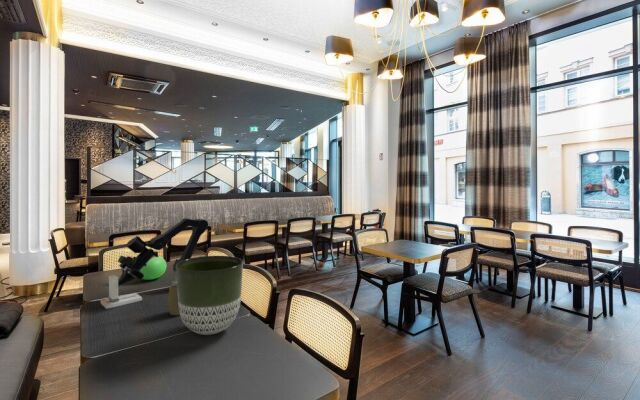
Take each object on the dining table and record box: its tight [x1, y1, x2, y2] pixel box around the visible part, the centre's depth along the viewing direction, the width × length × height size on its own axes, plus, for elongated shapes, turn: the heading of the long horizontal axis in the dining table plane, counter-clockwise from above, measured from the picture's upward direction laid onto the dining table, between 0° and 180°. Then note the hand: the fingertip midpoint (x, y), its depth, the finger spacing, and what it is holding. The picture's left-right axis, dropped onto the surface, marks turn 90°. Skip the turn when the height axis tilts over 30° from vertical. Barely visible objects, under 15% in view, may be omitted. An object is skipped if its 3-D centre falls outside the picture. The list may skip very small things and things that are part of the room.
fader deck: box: [100, 292, 143, 310], centre depth 154 cm, size 15×9×2 cm, turn 138°
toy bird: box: [140, 255, 168, 281], centre depth 191 cm, size 18×17×15 cm
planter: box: [175, 255, 244, 336], centre depth 125 cm, size 24×24×27 cm
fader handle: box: [107, 274, 119, 302], centre depth 151 cm, size 3×6×11 cm, turn 47°
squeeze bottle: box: [167, 274, 180, 316], centre depth 142 cm, size 8×8×18 cm
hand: (117, 285), depth 152 cm, fingers closed, pressing on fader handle
